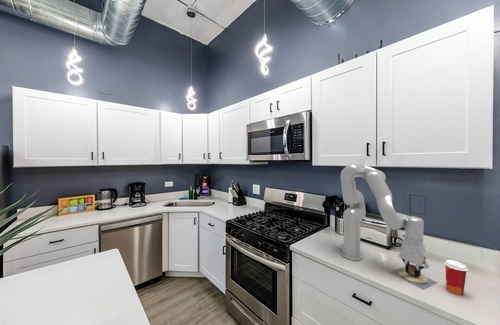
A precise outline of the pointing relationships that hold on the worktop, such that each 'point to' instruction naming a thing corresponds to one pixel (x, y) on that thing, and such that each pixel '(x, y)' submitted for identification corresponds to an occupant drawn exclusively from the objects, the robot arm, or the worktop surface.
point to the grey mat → (422, 286)
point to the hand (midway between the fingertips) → (412, 273)
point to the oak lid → (412, 275)
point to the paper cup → (455, 277)
